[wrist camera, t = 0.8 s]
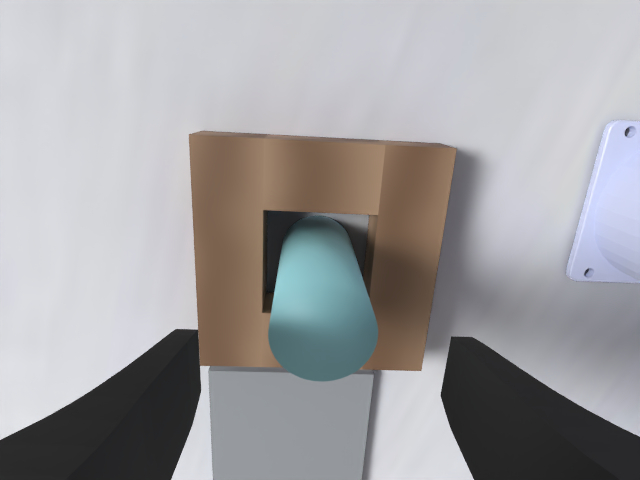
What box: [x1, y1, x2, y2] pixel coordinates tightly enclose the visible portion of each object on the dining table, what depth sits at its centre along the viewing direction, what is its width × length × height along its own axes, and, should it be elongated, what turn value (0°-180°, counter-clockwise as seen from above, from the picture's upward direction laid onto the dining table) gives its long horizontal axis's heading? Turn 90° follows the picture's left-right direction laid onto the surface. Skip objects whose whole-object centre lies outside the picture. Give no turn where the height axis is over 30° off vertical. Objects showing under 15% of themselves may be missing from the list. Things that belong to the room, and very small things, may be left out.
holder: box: [189, 131, 457, 371], centre depth 19 cm, size 11×11×2 cm
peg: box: [268, 216, 378, 382], centre depth 17 cm, size 4×4×8 cm
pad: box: [209, 366, 374, 480], centre depth 24 cm, size 9×10×1 cm
